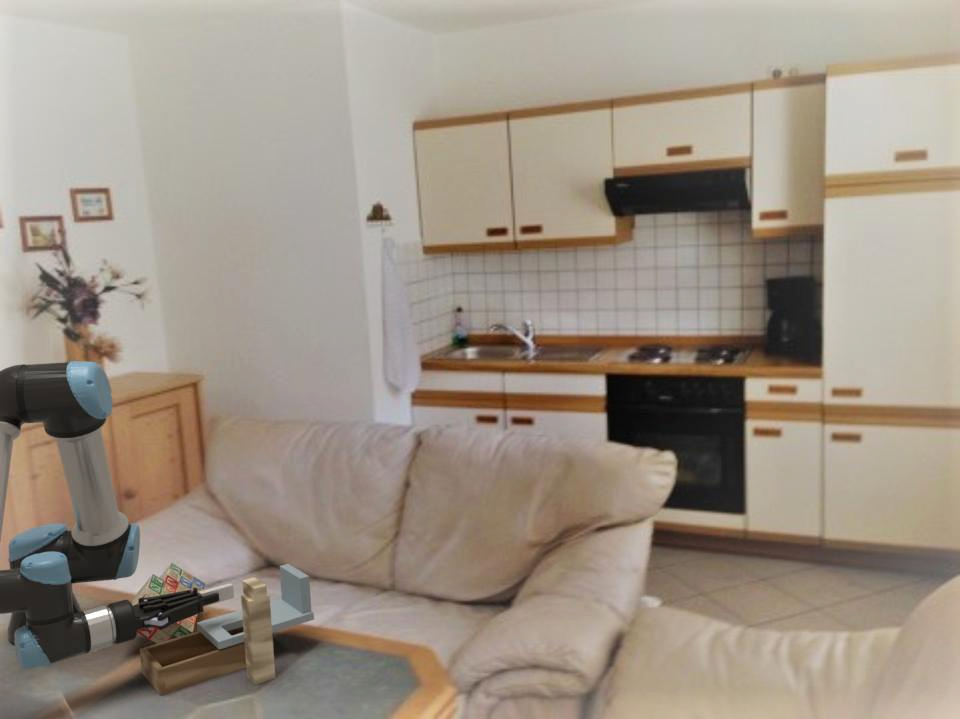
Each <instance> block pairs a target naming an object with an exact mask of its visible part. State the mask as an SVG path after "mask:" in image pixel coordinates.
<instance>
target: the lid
mask: <svg viewBox="0 0 960 719" xmlns="http://www.w3.org/2000/svg"><path fill="white" fill-rule="evenodd" d="M279 578H280V579H279V580H280V592H281V597H280V598H277V599H274V600H273V599H272V600H270V609H271V623H272V634H273V633H276V632H279V631H283V630H285V629H289V628H291V627H295V626H298V625H301V624H304V623H307V622H310V621H313V620H315V615H314V613H315V612H314V611H312V601H311V586H310V585H311V584H310V575H307V573H304V572H303V571H301V570H299V569H297V568H296V567H294V566H293V565H291V564H290V563H285V564H282V565H279ZM196 627H197V632H198V631H200V632H201V633H202V634H203V635H204V636H205V637H206V638H207V639H208V640H209V641H210V642H211V643H213V644H214V645H215V646H216V647H217V648H218V649H223V648H226V647H229V646H232V645H235V644H238V643H242V642H244V632H242V633H239V634H236V635H233V636H231V635H230V634H229V633H228V632H227V631H230V630H233V629H237V628H240V627H243V616H242V609H239V610H236V611H233V612H232V611H231V612H229V613H228V612H227V613H226V614H222V615H218V616H215V617H212V618H209V619H205V620H202V621H199V622H198V621H197V622H196Z"/></svg>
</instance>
